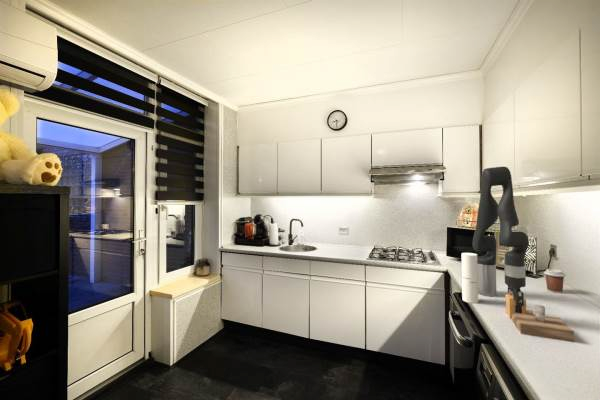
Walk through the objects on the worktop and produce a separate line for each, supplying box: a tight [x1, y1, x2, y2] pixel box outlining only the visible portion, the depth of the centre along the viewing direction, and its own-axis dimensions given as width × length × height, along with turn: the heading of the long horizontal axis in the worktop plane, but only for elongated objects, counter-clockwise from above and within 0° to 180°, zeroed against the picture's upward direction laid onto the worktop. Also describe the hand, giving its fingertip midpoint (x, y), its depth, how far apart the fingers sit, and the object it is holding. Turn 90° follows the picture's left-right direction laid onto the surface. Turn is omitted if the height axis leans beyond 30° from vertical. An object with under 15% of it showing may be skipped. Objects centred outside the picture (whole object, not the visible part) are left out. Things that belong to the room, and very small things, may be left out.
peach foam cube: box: [505, 293, 534, 319], centre depth 121 cm, size 9×6×9 cm, turn 65°
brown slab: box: [511, 304, 575, 342], centre depth 109 cm, size 12×16×10 cm
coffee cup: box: [543, 268, 566, 294], centre depth 152 cm, size 9×9×12 cm
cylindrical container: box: [461, 252, 479, 304], centre depth 141 cm, size 7×7×25 cm
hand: (515, 309), depth 122 cm, fingers open, 8 cm apart
